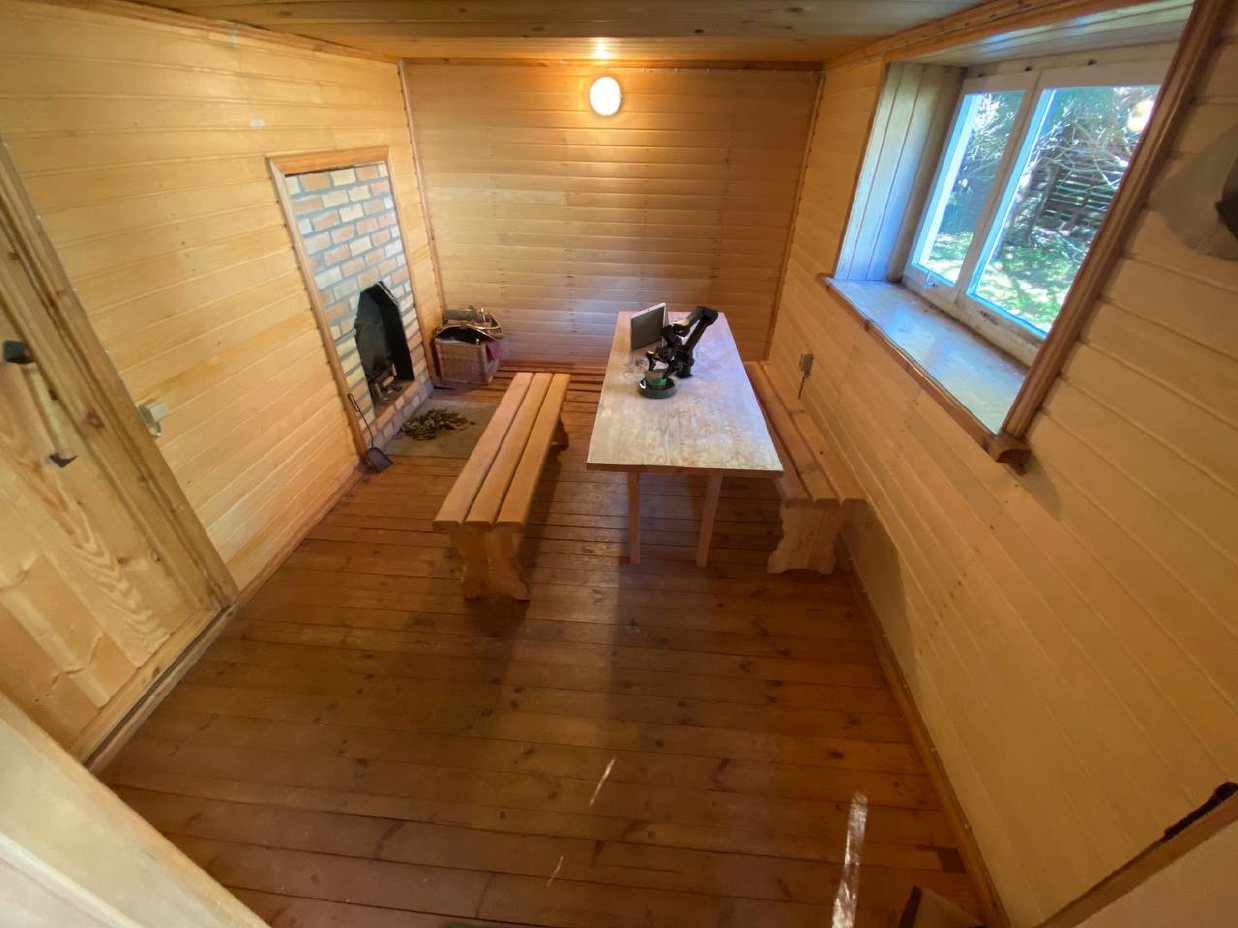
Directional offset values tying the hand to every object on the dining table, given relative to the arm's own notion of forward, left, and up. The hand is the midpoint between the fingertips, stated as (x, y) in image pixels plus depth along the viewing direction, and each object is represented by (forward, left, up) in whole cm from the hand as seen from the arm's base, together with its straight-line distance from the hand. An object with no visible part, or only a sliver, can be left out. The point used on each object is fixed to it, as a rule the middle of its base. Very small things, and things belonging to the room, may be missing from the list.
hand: (655, 377), depth 236 cm
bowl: (-1, -1, -7) cm, 8 cm away
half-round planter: (-1, -1, -7) cm, 7 cm away
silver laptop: (-23, -52, -8) cm, 57 cm away
